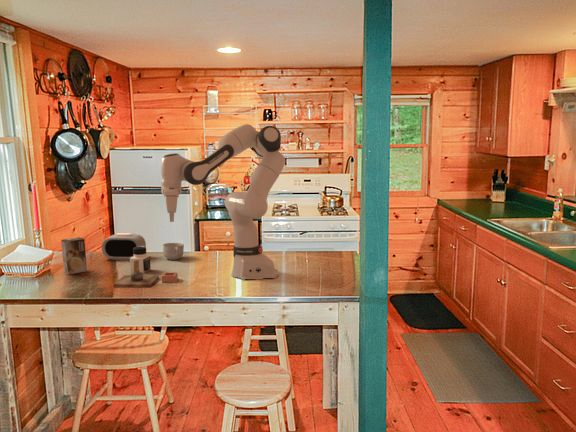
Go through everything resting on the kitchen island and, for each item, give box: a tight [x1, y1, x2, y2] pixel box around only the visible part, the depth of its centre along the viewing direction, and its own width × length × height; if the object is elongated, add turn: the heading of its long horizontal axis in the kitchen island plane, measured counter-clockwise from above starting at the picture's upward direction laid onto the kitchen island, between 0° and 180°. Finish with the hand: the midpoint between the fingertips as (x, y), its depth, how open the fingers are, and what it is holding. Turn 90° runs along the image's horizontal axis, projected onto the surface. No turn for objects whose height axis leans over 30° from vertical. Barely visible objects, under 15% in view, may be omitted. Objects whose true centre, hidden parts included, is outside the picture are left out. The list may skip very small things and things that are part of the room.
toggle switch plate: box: [113, 260, 160, 288], centre depth 225 cm, size 16×14×10 cm
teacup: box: [162, 242, 185, 261], centre depth 266 cm, size 14×11×8 cm
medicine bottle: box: [129, 246, 152, 274], centre depth 243 cm, size 7×7×12 cm
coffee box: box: [61, 236, 88, 275], centre depth 241 cm, size 9×6×16 cm
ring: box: [161, 271, 179, 283], centre depth 228 cm, size 6×6×3 cm
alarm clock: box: [101, 232, 147, 261], centre depth 267 cm, size 21×10×13 cm, turn 88°
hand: (171, 219), depth 229 cm, fingers open, 8 cm apart
